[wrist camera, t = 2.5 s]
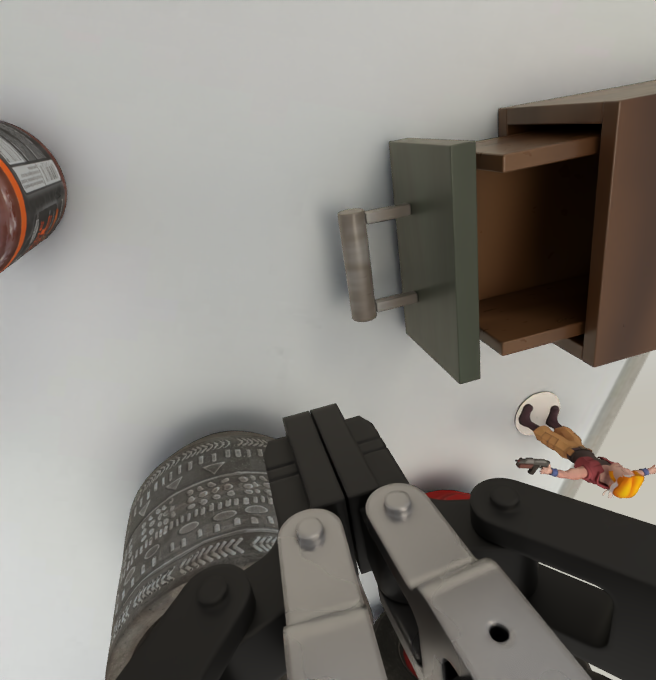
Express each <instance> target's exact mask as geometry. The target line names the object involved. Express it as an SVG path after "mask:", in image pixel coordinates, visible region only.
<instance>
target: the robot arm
mask: <svg viewBox="0 0 656 680" xmlns="http://www.w3.org/2000/svg"><path fill="white" fill-rule="evenodd" d="M283 423H284V427H285V432H286V436H285V437H282V438H278V439H275V440H271V441H268V443H267V446H266V449H265V451H264V454H263V457H264V462H265V466H266V471H267V476H268V480H269V485H270V489H271V494H272V499H273V503H274V508H275V512H276V517H277V522H278V528H279V529H278V536H277V539H276V541H275V543H274V545H273V547H272V548H271V549H270V551H269V552H268V553H267V554H266V555H265V556H264V557H263V558H261V559H260V560H259V561H257V562H256V563H254V564H253V565H251V566H250V567H248V568H246V569H245V570H243V569H241V568H240V567H238V566H235V565H232V564H218V565H214V566H211V567H208V568H206V569H204V570H202V571H200V572H199V573H197V574H196V575H195V576H193V577H192V578H191V579H190V580H189V581H188V583H187V584H186V585H185V586H184V587H183V589H182V590H181V592H180V593H179V594H178V596H177V597H176V598H175V600H174V601H173V602H172V604H171V605H170V606H169V608H168V609H167V611H166V612H165V613H164V615H163V616H162V617H161V619H160V620H159V621H158V623H157V624H156V625H155V627H154V628H153V629H152V631H151V632H150V634H149V635H148V636H147V638H146V639H145V640H144V642H143V643H142V644H141V646H140V647H139V648H138V650H137V651H136V652H135V654H134V655H133V657H132V658H131V659H130V661H129V662H128V663H127V665H126V666H125V667H124V669H123V670H122V671H121V673H120V674H119V676H118V677H117V678H116V680H279V679H280V678H281V677H282V676H284V675H285V674H286V673H287V680H387V676H386V673H385V669H384V666H383V662H382V658H381V655H380V651H379V648H378V644H377V640H376V637H375V633H374V630H373V626H372V622H371V619H370V615H369V612H368V609H367V606H366V605H365V604H364V601H363V598H362V594H361V590H360V587H359V583H358V579H357V576H358V575H359V574H358V568H357V564H358V566H359V569H360V571H361V574H363V573H366V572H369V571H373V574H374V576H375V579H376V581H377V584H378V590H379V596H380V601H381V603H382V606H383V608H384V610H385V612H386V614H387V616H388V618H389V620H390V622H391V624H392V626H393V628H394V630H395V632H396V634H397V636H398V638H399V640H400V642H401V644H402V646H403V648H404V650H405V652H406V654H407V656H408V658H409V660H410V662H411V664H412V666H413V668H414V670H415V672H416V674H417V676H418V678H419V680H611V679H609V678H607V677H605V676H603V675H601V674H599V673H596V672H594V671H591V670H589V669H586V668H583V667H581V665H580V664H579V663H578V662H577V660H576V659H575V658H574V657H573V656H575V657H577V658H579V659H582V660H584V661H586V662H588V663H590V664H592V665H594V666H596V667H598V668H600V669H602V670H604V671H606V672H608V673H610V674H612V675H614V676H616V677H618V678H620V679H622V680H656V525H653V524H650V523H647V522H643V521H640V520H637V519H634V518H631V517H628V516H625V515H622V514H618V513H615V512H612V511H609V510H606V509H603V508H600V507H597V506H594V505H591V504H587V503H584V502H581V501H578V500H575V499H572V498H569V497H566V496H562V495H559V494H556V493H553V492H550V491H547V490H544V489H541V488H538V487H534V486H531V485H528V484H525V483H522V482H519V481H516V480H512V479H506V478H493V479H488V480H485V481H483V482H481V483H479V484H478V485H476V486H475V487H474V489H473V490H472V492H471V494H470V499H461V500H439V499H433V498H430V497H428V496H427V495H426V494H425V493H424V492H423V491H422V490H421V489H419V488H417V487H416V486H413V485H410V484H409V482H408V481H407V479H406V477H405V476H404V474H403V472H402V471H401V469H400V468H399V466H398V464H397V463H396V461H395V459H394V458H393V456H392V455H391V453H390V451H389V450H388V448H386V445H385V443H384V442H383V440H382V438H380V435H379V433H378V432H377V430H376V429H375V427H374V425H373V424H372V423H370V422H369V421H367V420H365V419H364V418H362V417H360V416H356V417H353V418H349V419H346V420H345V419H344V417H343V415H342V413H341V411H340V410H339V408H338V406H337V404H336V403H335V404H331V405H328V406H324V407H320V408H317V409H313V410H310V413H309V411H306V412H302V413H299V414H295V415H291V416H288V417H284V418H283ZM356 561H357V563H356ZM538 562H541V563H543V564H545V565H548V566H550V567H553V568H555V569H558V570H560V571H562V572H565V573H568V574H570V575H572V576H575V577H577V578H580V579H582V580H585V581H587V582H589V583H592V584H594V585H596V586H598V587H600V588H601V589H599V588H597V587H594V586H592V585H589V584H587V583H584V582H582V581H579V580H577V579H575V578H572V577H570V576H567V575H565V574H563V573H560V572H558V571H555V570H553V569H551V568H548V567H546V566H543V565H541V564H538ZM602 589H603V590H602Z"/></svg>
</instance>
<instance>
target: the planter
mask: <svg viewBox="0 0 656 680" xmlns="http://www.w3.org/2000/svg"><path fill="white" fill-rule="evenodd" d="M271 440H275V439H274V438H271V437H268V436H265V435H261V434H257V433H252V432H244V431H225V432H219V433H215V434H211V435H208V436H206V437H203V438H201V439H199V440H196V441H194V442H192V443H190V444H189V445H187V446H185V447H183V448H182V449H180V450H179V451H177V452H176V453H174V454H173V455H172V456H170V457H169V458H168V459H166V460H165V461H164V462H163V463H162V464H161V465H159V466H158V467H157V468H156V469H155V470H154V471H153V472H152V473H151V474H150V476H149V477H148V478H147V479H146V480H145V482H144V483H143V484H142V486H141V488H140V489H139V491H138V493H137V495H136V497H135V499H134V502H133V504H132V507H131V511H130V516H129V520H128V525H127V531H126V537H125V544H124V553H123V562H122V568H121V573H120V579H119V585H118V590H117V596H116V603H115V610H114V617H113V625H112V633H111V642H110V648H109V654H108V660H107V666H106V675H105V680H116V678H117V677H118V676H119V674H120V673H121V671H122V670H123V669H124V667H125V666H126V665H127V663H128V662H129V661H130V659H131V658H132V657H133V655H134V654H135V652H136V651H137V650H138V648H139V647H140V646H141V644H142V643H143V642H144V640H145V639H146V638H147V636H148V635H149V634H150V632H151V631H152V629H153V628H154V627H155V625H156V624H157V623H158V621H159V620H160V619H161V617H162V616H163V615H164V613H165V612H166V611H167V609H168V608H169V606H170V605H171V604H172V602H173V601H174V600H175V598H176V597H177V596H178V594H179V593H180V592H181V590H182V589H183V587H184V586H185V585H186V584H187V583H188V581H189V580H190V579H191V578H192V577H193V576H195V575H196V574H197V573H199V572H200V571H202V570H204V569H206V568H208V567H211V566H214V565H218V564H232V565H235V566H238V567H240V568H241V569H243V570H245V569H246V568H248V567H250V566H251V565H253V564H254V563H256V562H257V561H259V560H260V559H261V558H263V557H264V556H265V555H266V554H267V553H268V552H269V551H270V549H271V548H272V547H273V545H274V543H275V541H276V539H277V536H278V529H279V528H278V522H277V517H276V512H275V508H274V503H273V499H272V494H271V489H270V485H269V480H268V476H267V471H266V466H265V462H264V457H263V454H264V451H265V449H266V446H267V443H268V441H271ZM357 579H358V583H359V587H360V590H361V594H362V598H363V601H364V604H365V605H366V606H367V609H368V612H369V615H370V619H371V622H372V626H373V616H372V612H371V608H370V606H369V603H368V600H367V597H366V595H365V592H364V590H363V587H362V584H361V582H360V579H359V576H357ZM279 680H287V673H286V674H285V675H284V676H282V677H281V678H280V679H279Z"/></svg>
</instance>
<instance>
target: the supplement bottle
mask: <svg viewBox="0 0 656 680" xmlns="http://www.w3.org/2000/svg"><path fill="white" fill-rule="evenodd" d="M66 200H67V189H66V182H65V180H64V176H63V174H62V171H61V169H60V167H59V165H58V163H57V162H56V160H55V158H54V157H53V155H52V154H51V153H50V151H49V150H48V149H47V148H46V147H45V146H44V145H43V144H42V143H41V142H40V141H39V140H37V139H36V138H35V137H34V136H32V135H31V134H29V133H28V132H26V131H25V130H23V129H21V128H19V127H17V126H15V125H12V124H9V123H6V122H3V121H0V273H1V272H2V271H4V270H5V269H6V268H7V267H9V266H10V265H12V264H13V263H14V262H16V261H17V260H18V259H19V258H20V257H22V256H23V255H24V254H25V253H27V252H28V251H29V250H31V249H32V248H33V247H35V246H36V245H37V244H39V243H40V242H42V241H43V240H44V239H46V238H47V237H48V236H49V235H50V234H51V233H52V232H53V231H54V230H55V228H56V227H57V225H58V224H59V222H60V220H61V218H62V216H63V214H64V211H65V207H66Z"/></svg>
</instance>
